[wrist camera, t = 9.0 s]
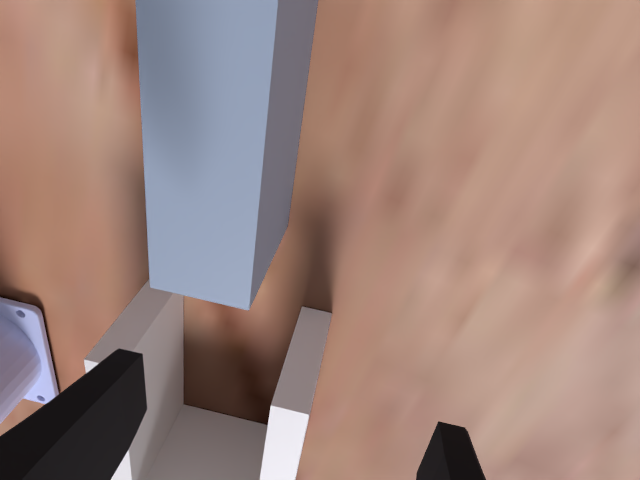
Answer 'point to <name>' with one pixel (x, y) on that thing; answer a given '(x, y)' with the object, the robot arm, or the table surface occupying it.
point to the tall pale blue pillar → (220, 138)
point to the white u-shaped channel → (203, 425)
